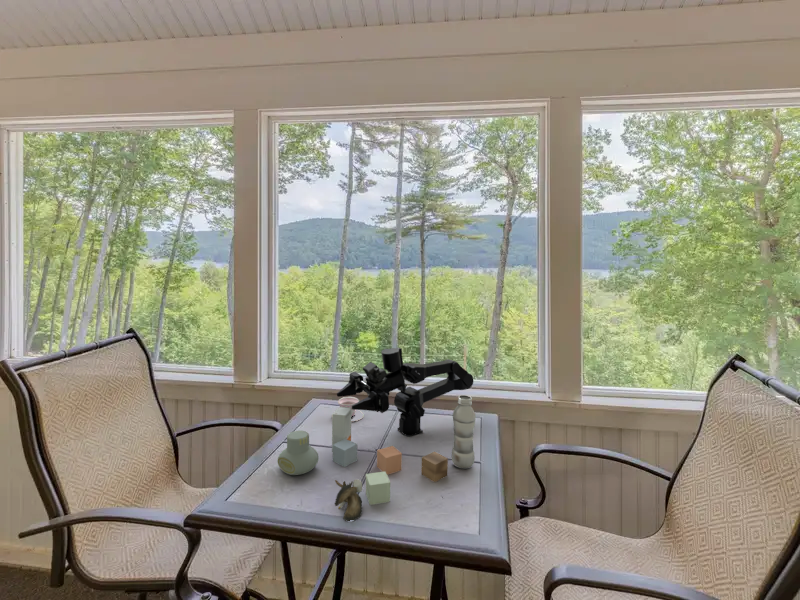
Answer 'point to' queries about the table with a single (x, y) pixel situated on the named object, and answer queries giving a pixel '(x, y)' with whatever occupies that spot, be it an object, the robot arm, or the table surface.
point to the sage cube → (377, 488)
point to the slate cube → (344, 452)
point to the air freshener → (298, 454)
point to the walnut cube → (434, 466)
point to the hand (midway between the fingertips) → (344, 401)
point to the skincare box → (341, 425)
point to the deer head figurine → (350, 499)
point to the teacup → (349, 404)
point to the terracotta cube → (389, 460)
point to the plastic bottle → (463, 433)
